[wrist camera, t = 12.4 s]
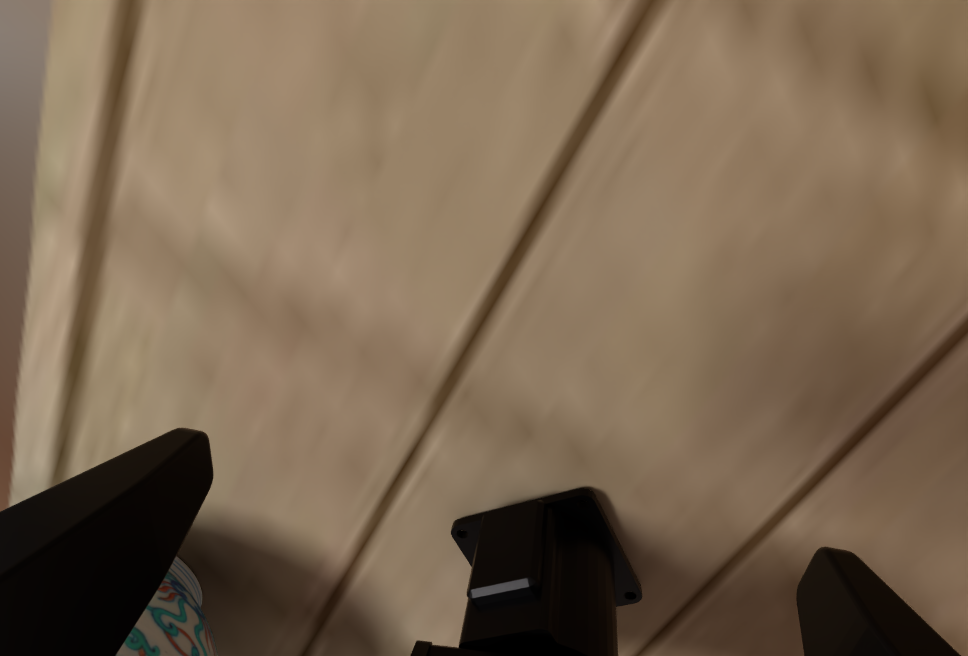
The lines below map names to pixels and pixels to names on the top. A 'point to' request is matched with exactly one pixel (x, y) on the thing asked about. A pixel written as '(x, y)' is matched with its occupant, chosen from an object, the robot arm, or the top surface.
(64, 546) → the robot arm
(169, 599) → the chinaware
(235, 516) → the top surface
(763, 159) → the top surface
